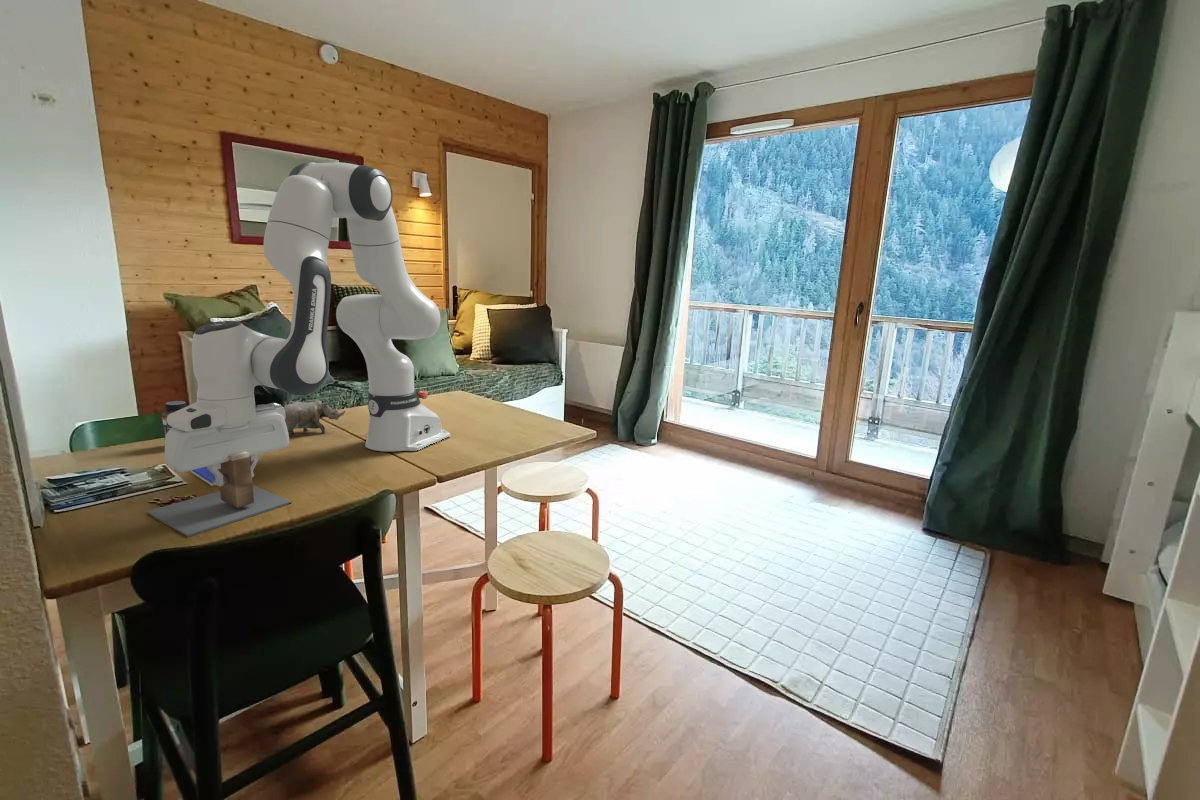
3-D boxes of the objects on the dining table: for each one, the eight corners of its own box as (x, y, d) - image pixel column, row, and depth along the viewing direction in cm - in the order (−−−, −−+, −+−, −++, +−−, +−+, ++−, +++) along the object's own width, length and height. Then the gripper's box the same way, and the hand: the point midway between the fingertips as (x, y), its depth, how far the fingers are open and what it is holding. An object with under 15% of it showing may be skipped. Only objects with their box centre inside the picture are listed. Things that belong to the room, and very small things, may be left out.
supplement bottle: (166, 451, 137) (160, 406, 135) (164, 445, 142) (158, 401, 139) (196, 447, 141) (190, 403, 139) (194, 441, 145) (188, 398, 143)
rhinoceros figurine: (259, 427, 151) (292, 380, 154) (305, 447, 161) (336, 403, 164) (267, 436, 146) (302, 388, 148) (314, 457, 156) (346, 411, 158)
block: (237, 495, 111) (232, 446, 109) (254, 502, 108) (249, 452, 106) (221, 500, 108) (215, 450, 106) (237, 507, 105) (231, 456, 103)
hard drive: (254, 471, 124) (231, 458, 132) (211, 481, 118) (189, 467, 125) (254, 478, 125) (231, 465, 132) (212, 488, 118) (190, 473, 126)
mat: (248, 484, 120) (248, 482, 119) (291, 503, 111) (291, 501, 111) (146, 513, 105) (146, 511, 104) (187, 537, 96) (187, 534, 96)
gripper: (274, 398, 115) (280, 463, 118) (155, 418, 98) (165, 493, 101) (292, 403, 111) (298, 469, 114) (172, 424, 94) (182, 502, 97)
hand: (235, 481), depth 107 cm, fingers closed on block, 3 cm apart
